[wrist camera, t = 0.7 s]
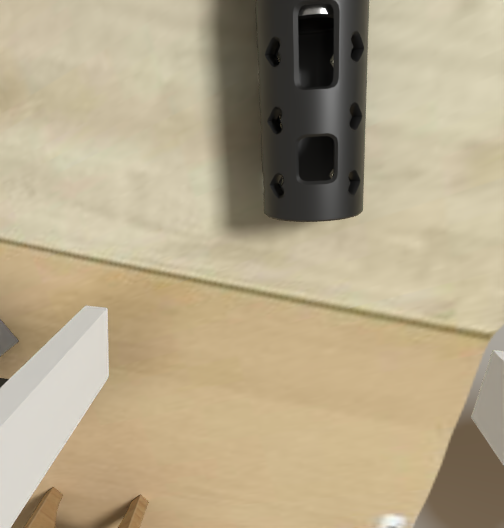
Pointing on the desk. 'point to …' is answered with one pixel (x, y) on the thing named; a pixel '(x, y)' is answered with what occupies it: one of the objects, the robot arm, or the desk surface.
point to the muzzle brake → (312, 107)
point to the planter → (45, 513)
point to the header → (6, 338)
